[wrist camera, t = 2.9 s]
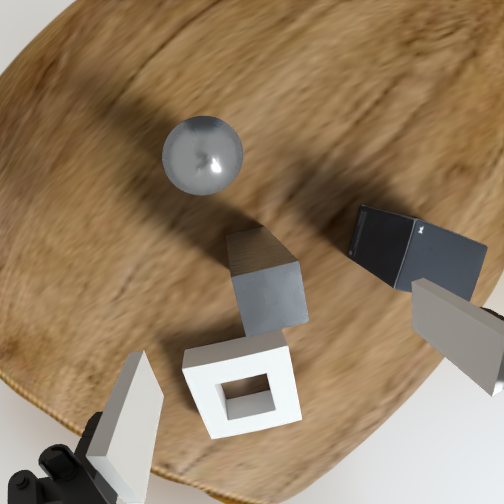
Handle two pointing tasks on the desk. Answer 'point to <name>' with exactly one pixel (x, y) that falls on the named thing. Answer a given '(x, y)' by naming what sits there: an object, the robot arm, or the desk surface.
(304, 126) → the desk surface
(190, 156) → the round bit
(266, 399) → the socket block
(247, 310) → the square bit
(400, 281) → the small box
